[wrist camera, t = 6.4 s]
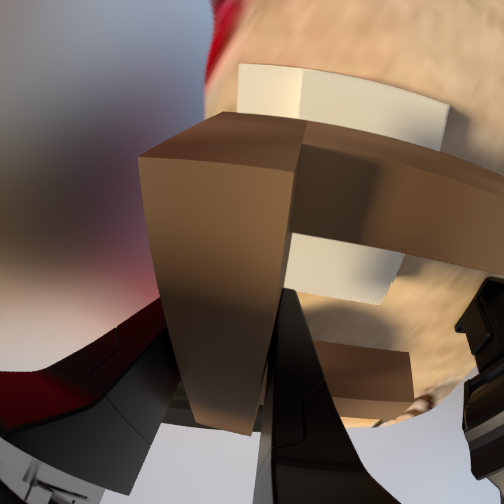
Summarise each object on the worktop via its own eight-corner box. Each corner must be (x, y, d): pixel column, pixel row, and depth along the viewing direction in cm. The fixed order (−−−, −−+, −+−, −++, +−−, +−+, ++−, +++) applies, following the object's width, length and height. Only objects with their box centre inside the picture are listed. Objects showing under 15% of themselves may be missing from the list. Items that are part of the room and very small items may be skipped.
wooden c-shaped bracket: (501, 175, 6) (578, 255, 3) (392, 373, 12) (394, 450, 9) (223, 111, 7) (138, 156, 4) (223, 346, 13) (196, 422, 10)
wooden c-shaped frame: (444, 103, 12) (470, 113, 9) (391, 275, 20) (398, 309, 17) (243, 63, 14) (224, 62, 11) (235, 247, 22) (221, 278, 19)
